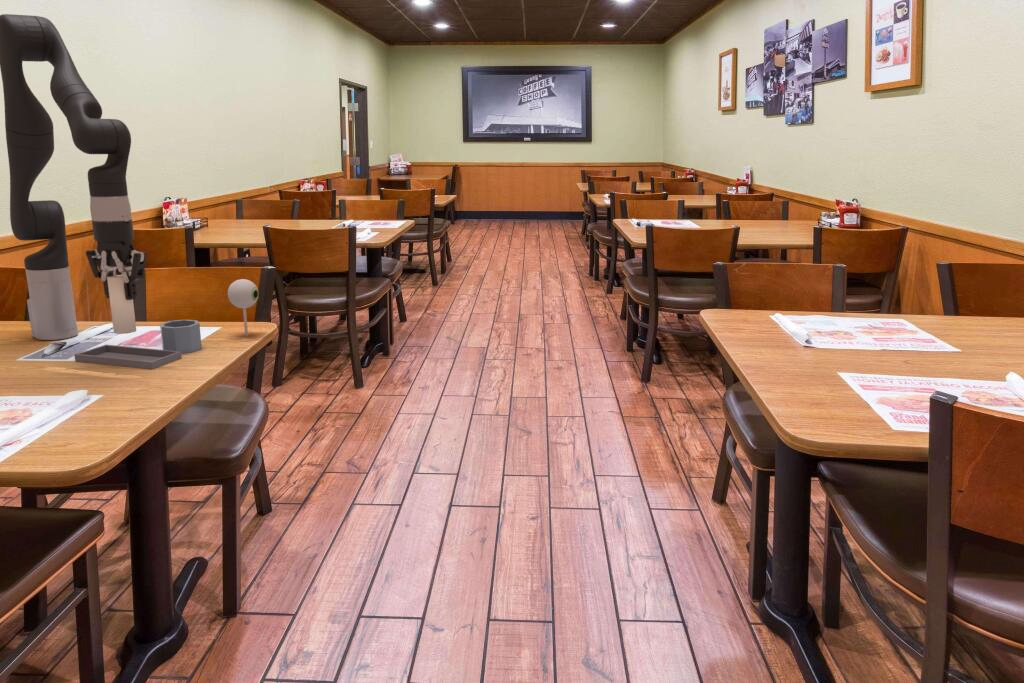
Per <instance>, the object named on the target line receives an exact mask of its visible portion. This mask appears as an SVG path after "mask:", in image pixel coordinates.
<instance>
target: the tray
mask: <svg viewBox="0 0 1024 683" xmlns="http://www.w3.org/2000/svg"><path fill="white" fill-rule="evenodd" d="M181 359H182V354H181V352H180V351H170V350H163V349H158V348H148V347H137V346H125V345H115V344H104V345H100V346H98V347H94V348H91V349H88V350H84V351H82V352H78V353H75V354H74V361H75V362H79V363H87V364H96V365H104V366H105V365H109V366H119V367H128V368H133V369H135V368H136V369H137V368H138V369H144V370H155V369H158V368H160V367H163V366H165V365H169V364H170V363H173V362H175V361H178V360H181Z"/></svg>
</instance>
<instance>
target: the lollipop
mask: <svg viewBox="0 0 1024 683" xmlns="http://www.w3.org/2000/svg"><path fill="white" fill-rule="evenodd" d="M259 295H260V294H259V289H258V287H257V285H256V284H255V283H254V282H253V281H251V280H249V279H245V278H241V279H236V280H235V281H233V282H232V283H231V284H230V285H229V286H228V288H227V297H228V300H229V302H230V303H231V304H232V305H233V306H235V307H236V308H238V309H242V313H243V316H242V317H243V325H244V327H243V328H244V329H243V330H244V336H246V337H247V336H249V332H248V320H247V309H248V308H251V307H252V306H254V305H255V304H256V302H257V301H258V300H259Z"/></svg>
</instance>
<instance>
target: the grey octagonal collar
mask: <svg viewBox="0 0 1024 683" xmlns="http://www.w3.org/2000/svg"><path fill="white" fill-rule="evenodd" d="M200 326H201V325H200V322H199V320H195V319H177V320H176V319H175V320H168V321H166V322H161V323H160V324H159V327H160V328H159V329H160V337H161V338H160V339H161V347H162V350H170V351H180V352H181V355H182V354H192V353H195V352H198V351H200V350H202V349H203V348H202V337H201V335H202V334H201V327H200Z"/></svg>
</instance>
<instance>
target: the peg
mask: <svg viewBox="0 0 1024 683" xmlns="http://www.w3.org/2000/svg"><path fill="white" fill-rule="evenodd" d="M128 275H129V274H128ZM129 276H130V275H129ZM107 281H108V289H109V297H110V299H109V304H110V305H109V306H110V312H111V320H112V326H113V328H112V329H113V333H114V334H116V335H117V334H118V335H125V334H126V335H127V334H132V333H135V332H137V324H136V322H137V321H136V316H135V315H136V314H135V307H134V299H132V300H126V298H125V289H124V283H126V282H125V281H124V279H123V276H122V274H115V275H113V276H108V277H107Z"/></svg>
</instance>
